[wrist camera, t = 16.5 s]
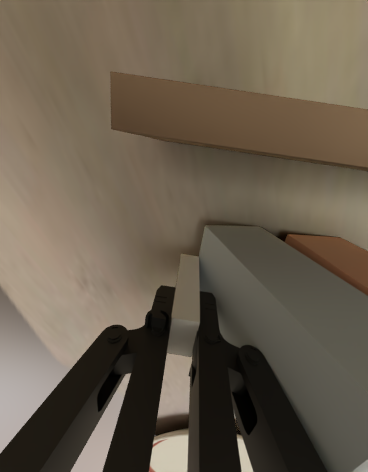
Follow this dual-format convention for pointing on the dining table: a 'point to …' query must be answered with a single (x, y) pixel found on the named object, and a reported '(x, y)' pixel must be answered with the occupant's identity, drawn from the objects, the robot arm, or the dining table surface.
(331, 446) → the light grey rectangular block
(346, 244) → the tan rectangular block
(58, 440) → the robot arm
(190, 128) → the brown wooden board
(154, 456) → the dinner plate
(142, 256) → the dining table surface
